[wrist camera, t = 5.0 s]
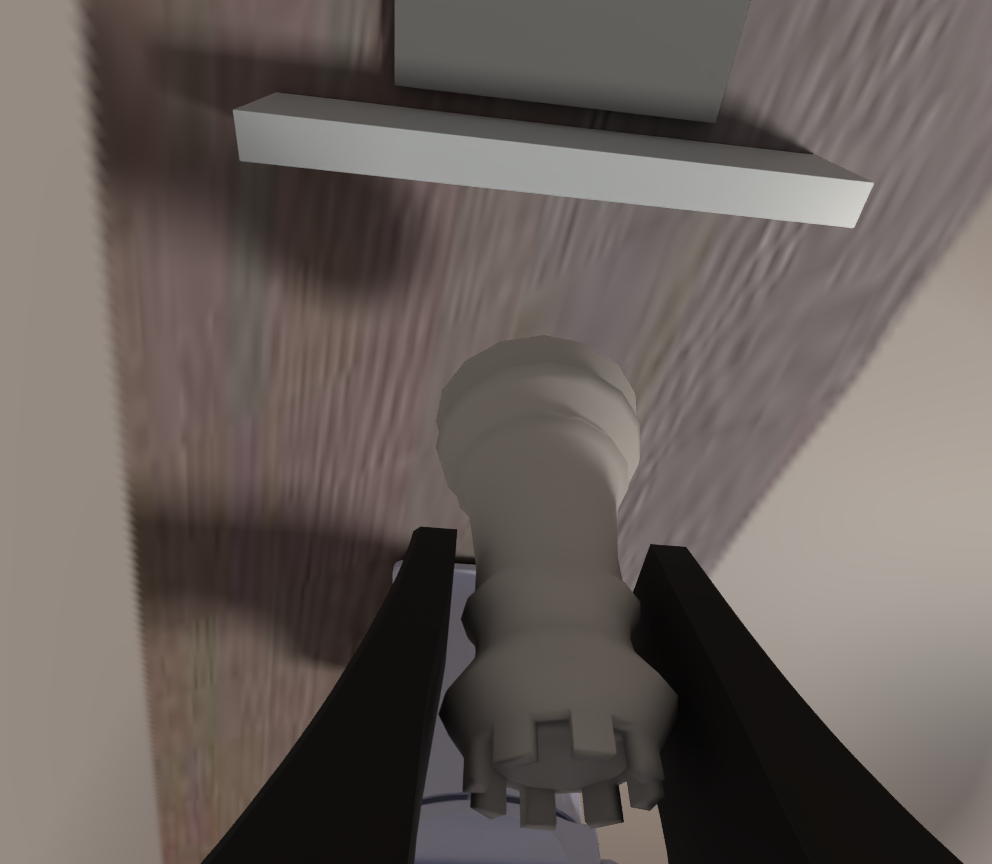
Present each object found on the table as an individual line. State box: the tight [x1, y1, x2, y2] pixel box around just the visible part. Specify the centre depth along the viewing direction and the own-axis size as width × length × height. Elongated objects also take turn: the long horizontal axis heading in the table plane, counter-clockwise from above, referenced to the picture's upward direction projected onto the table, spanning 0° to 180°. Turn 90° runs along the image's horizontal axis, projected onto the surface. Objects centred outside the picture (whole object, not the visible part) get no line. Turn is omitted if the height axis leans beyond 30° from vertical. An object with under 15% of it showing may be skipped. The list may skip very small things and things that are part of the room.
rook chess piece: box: [436, 335, 678, 831], centre depth 11 cm, size 4×4×8 cm
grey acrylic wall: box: [233, 92, 874, 228], centre depth 14 cm, size 1×14×3 cm, turn 84°
